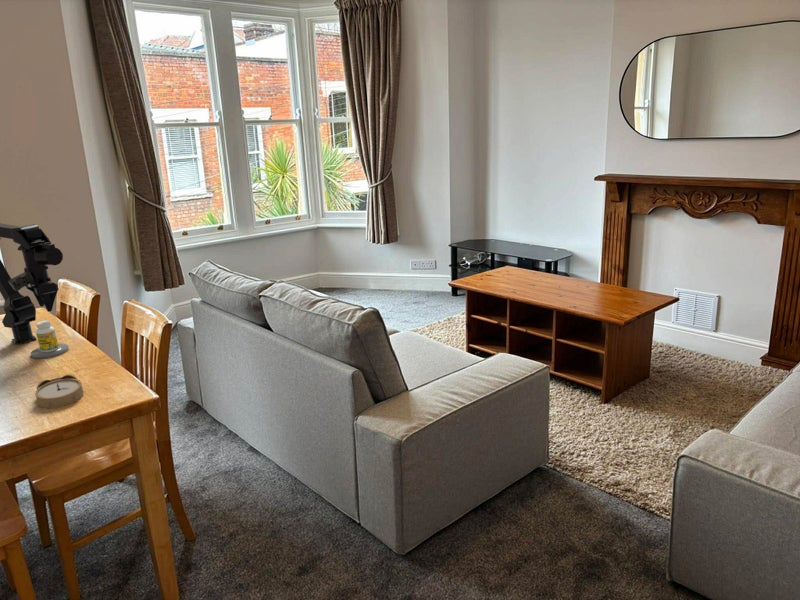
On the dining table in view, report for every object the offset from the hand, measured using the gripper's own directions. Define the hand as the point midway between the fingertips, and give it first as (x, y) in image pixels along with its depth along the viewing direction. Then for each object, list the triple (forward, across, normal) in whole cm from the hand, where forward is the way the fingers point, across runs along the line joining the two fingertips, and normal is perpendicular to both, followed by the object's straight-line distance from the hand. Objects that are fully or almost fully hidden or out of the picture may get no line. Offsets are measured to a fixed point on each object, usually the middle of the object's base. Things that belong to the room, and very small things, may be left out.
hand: (45, 308), depth 205 cm
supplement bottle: (+12, +7, -3) cm, 14 cm away
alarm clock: (+14, +48, -11) cm, 51 cm away
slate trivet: (+13, +7, -3) cm, 15 cm away
